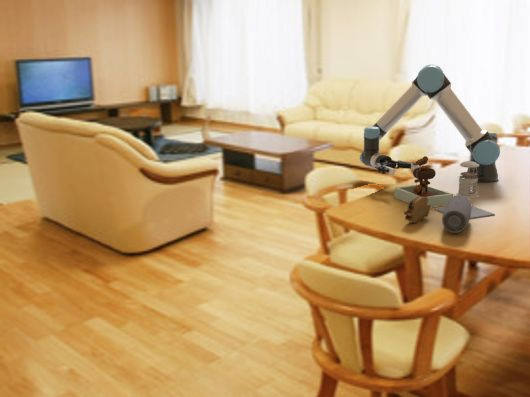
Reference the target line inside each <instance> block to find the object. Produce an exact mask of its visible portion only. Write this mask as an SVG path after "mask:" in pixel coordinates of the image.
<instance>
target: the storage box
mask: <svg viewBox="0 0 530 397" xmlns="http://www.w3.org/2000/svg"><path fill="white" fill-rule="evenodd" d="M418 185H419V184H417V186H418ZM415 186H416V184H414V185H413V184H412V185H405V186H397V187H394V193H393V194H394V195H393V196H394V199H398V200H400V201H402V202H404V203H407V204H409V202H410V201H411V200H413V199H414V198H416V197H418V196H419V195H416V194H413V193H411V192H413V191H414V188H415ZM422 188H423V187H422ZM423 191H425V188H423ZM427 191H430V192H433V193H434V194H435V196H429V197H427V198H428V202H427V204H428V205H430V206H431V208H436V207H437V208H438V207H444V206H445V207H446V205H447V204H448V202H449V200H450V199H451V198H452V197H454V196H455V195H454V193H452V192H448V191H446V190H443V189H440V188H438V187H434V186H432V185H430V184H428V190H427Z"/></svg>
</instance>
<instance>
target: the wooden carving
mask: <svg viewBox="0 0 530 397" xmlns="http://www.w3.org/2000/svg"><path fill="white" fill-rule="evenodd" d="M427 202H428V198H427V197H425V196H423V197H421V196H418V197H416V198H414V199H413V200H411V201H410V202H409V203H408V206H407V207H408V208H407V210H406V211H405V210H404V212H403V214H404V215H405V220H406V221H408V222H411V223H414V224H417V223H420V222H421V221H422V220H424V218H427V217H428V216H429V214H430V210H431V208H432V207H431V206H430V205H428V204H427Z"/></svg>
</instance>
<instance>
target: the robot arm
mask: <svg viewBox="0 0 530 397" xmlns="http://www.w3.org/2000/svg"><path fill="white" fill-rule="evenodd" d="M451 86H452V82H451V81H450V80H449V79H448V77H447V76H446V74H445V73H444V71H443V70H442V68H441V67H440V66H438V65H436V64H427V65H425V66H423V67H422V68H421V69H420V70H419V71H418V73H417V76H416V77H415V78H414V80H413V81H411V86H410V87H408V89H407V90H406V91H404V93H403V94H402V95H401V96H400V97H399V98H398V99H397V100H396V101H395V103H393V104H392V106H391V107H389V109H388V110H387V111H386V112H385V113H384V114H382V116H381V117H380V118H379V119H378V120H377V121H376V122H375V123H374V124H373V125H372V126H366V127H365V128H364V130H363V151H361V153H360V155H359V160H360V163H361V164H363V165H365V166H366V167H369V168H373V169H375V170H376V171H377V173H381V174H382V175H384V174H389V175H392V176H395V175H396V174H395V173H396V171H395V170H398V169H406V170H407V169H408V170H410V171H414V169H416V168H417V166H418V165H417V166H416V165H412V164H415V162H414V161H406V160H405V161H404V160H400V159H399V160H393V159H392V158H391V156H389V155H386V154H383V153H380V141H381V140H382V139H383V138H384V137H385V136H386V134H387V133H388V132H389V131H390V130H391V129H392V128H393V127H394V126H395V125H396V124H397V123H398V122H399V121H400V120H401V119H402V118H403V117H404V116H405V115H406V114H407V113H408V112H409V111H410V110H411V109H412V108H413V107H414V106H415V105H416V104H417V103H418V102H419V101H421V99H422V98H423V97H424V96H425V97H426V96H427V98H428V99H429V100H432V101H435V102H436V103H437V105H438V107H440V109H441V110H442V111H443V113H444V114H445V115H446V117H447V118H448V119H449V120H450V122H451V123H452V125H454V127H455V128H456V130H457V131H458V133H459V134H460V135H461V136H462V137H463V139H464V140H465V144H464V145H465V147H466V149H467V150H468V151H469V154H470V156H469V160H470V161H473V162H476V163H477V164H479V167H475V170H474V173H477V174H478V175H477V177H478V183H493V182H497V181H498V180H499V174H498V168H497V167H496V166H497V165H496V161H497V160H498V159H499V158H500V155H501V148H500V145H499V144H498V134H497V133H496V132H489V131H488V130H487V129H482V128H481V126H480V125H479V124H478V123H477V122H476V120H475V118H474V117H473V116H472V115H471V114H470V112H469V110H467V108H466V107H465V105H464V104H463V103H462V101H461V100H460V98H458V96H457V95H456V93H455V92H454V91H453V90H452V88H451ZM470 139H472V140H473V142H469V140H470ZM470 144H471V152H470ZM419 167H420V166H418V168H419ZM476 168H477V170H476ZM472 169H474V168H467V169H466V170H467V171H466V172H471V173H473V170H472ZM472 177H473V176H471V179H472Z"/></svg>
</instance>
